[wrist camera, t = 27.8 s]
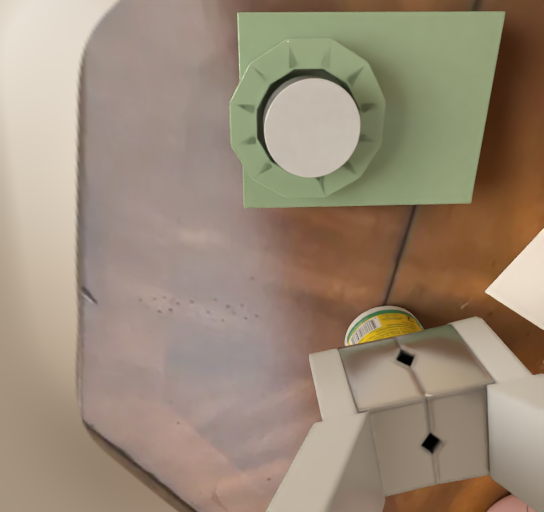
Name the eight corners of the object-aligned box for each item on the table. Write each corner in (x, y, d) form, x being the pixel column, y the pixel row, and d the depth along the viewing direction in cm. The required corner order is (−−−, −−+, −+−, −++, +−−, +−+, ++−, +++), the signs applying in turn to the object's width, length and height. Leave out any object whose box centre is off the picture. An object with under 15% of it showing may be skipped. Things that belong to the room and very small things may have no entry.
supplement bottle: (346, 303, 30) (386, 408, 22) (426, 302, 30) (498, 405, 22) (340, 369, 32) (375, 489, 24) (415, 367, 33) (476, 485, 24)
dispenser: (236, 191, 27) (234, 221, 22) (229, 16, 23) (224, 9, 18) (447, 186, 27) (487, 215, 23) (474, 15, 23) (528, 8, 19)
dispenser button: (263, 167, 22) (264, 178, 20) (261, 75, 20) (263, 78, 18) (348, 165, 22) (357, 177, 20) (353, 74, 20) (364, 77, 18)
